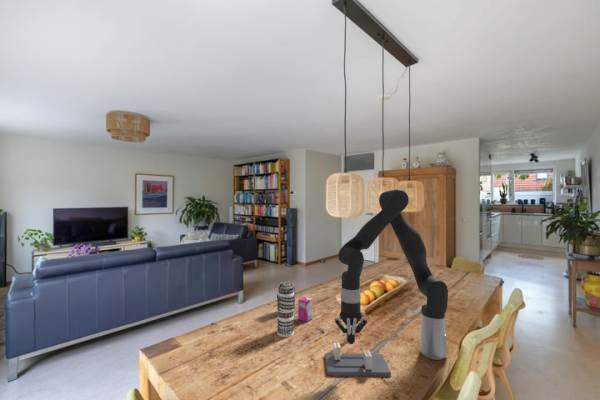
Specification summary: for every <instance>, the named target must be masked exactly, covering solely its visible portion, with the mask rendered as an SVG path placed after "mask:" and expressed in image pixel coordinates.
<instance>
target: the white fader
mask: <svg viewBox="0 0 600 400" xmlns="http://www.w3.org/2000/svg"><path fill="white" fill-rule="evenodd" d="M341 347H342V346H341V344H340V342H339V341H334V342H333V351H332V352H333V354H334V359H335V360H341V354H342V352H341V350H342V349H341Z"/></svg>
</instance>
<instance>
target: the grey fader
mask: <svg viewBox="0 0 600 400" xmlns="http://www.w3.org/2000/svg"><path fill="white" fill-rule="evenodd" d="M363 354H364V355H363V363H364V366H365V369H366V370H372V355H371V354H372V353H371V351H370V350H367V349H366V350H363Z"/></svg>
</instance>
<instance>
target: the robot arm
mask: <svg viewBox="0 0 600 400" xmlns="http://www.w3.org/2000/svg"><path fill="white" fill-rule="evenodd" d="M378 200H379V201H378V202H379V203H378V204H379V206H380V208H381V210H380V211H379V212H378V213H377V214H376V215H375V216H373V217H372V218H370V219H369V220H368V221H367V222H366V223H365V224H364V225H363V226H362V227H361V228H360V229H359V231H358V232H357V233H356V235H354V236H353V237H352V238H351V239H349V241H347V242H346V243H345V244H343V245H342V246H341V248H339V251H338V254H337V258H338V259H337V260H339V262H340V263H342V264H343V265H346V266H347V270H345V271H343V272H342V273H341V291H340V313H339V316H338V317H334V322H335V324H336V325H337V326H338V328H339V329H340V331H341V332H342V334H345V335H346V341H347V343H348V344H349V345H354V343H355V341H356V339H355V338H356V334H359V333H360V332H361V331H362V330H363V329H364V327H365V326H366V325H367V324H368V320H367V319H366V317H363V314H361V311H362V310H361V306H362V305H361V301H362V297H361V296H362V295H361V280H360V279H361V278H360V277H361V275H362V270H363V267H364V262H365V258H364V254H363V252H362V250H363V251H364V250H368V249H369V248H370V247H371V246H372V245H373V244H374V242H375V241H376V239H378V237H379V236H380V235H381V233H382V232H383V231H384V229H386V228H387V227H388V225H389V224H390V226H391V228H392V230H393V232H394V235H395V237H396V239H397V241H398V243H399V245H400V247H401V249H402V251H403V252H402V253H403V255H404V256H405V258H406V260H407V263H408V265H409V267H410V269H411V270H412V273H413V276H414V280H415V281H416V285H417V289H418V290H419V292H420V293H421V294H422V295H423V296H425V297H426V304H423V305H422V306H421V309H420V311H421V312H420V315H421V316H420V317H421V318H420V319H421V321H420V353H421V354H422V356H424V357H425V358H427V359H430V360H435V361H440V360H441V361H442V360H443V359H447V358H448V356H447V355H448V354H447V353H448V348H447V347H448V340H447V338H448V336H447V334H446V330H445V329H446V312H447V310H448V303H449V301H448V300H449V289H448V286H447V283H446V282H445V281H443V280H442V279H440V278H437V277H435V276H434V275H433V273H432V272H431V270H430V268H429V266H428V262H427V248H426V246H425V243H424V241H423V238H422V236H421V235H420V233H419V231H417V230H416V228H415V227H413V226H412V225H411V223H409V221H408V220H406V218H405V217H404V216H403V214H402V212H403V211H404V210H405V209H406V208H407V206H408V204H409V200H410V198H409V195H408V193H407V192H406V191H405V190H403V189H399V188H397V189H391V190H387V191H384V192H382V193H381V194H380V195H379V198H378ZM342 322H343V323H344V325H345V326H344V325H343V324H342Z"/></svg>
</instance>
